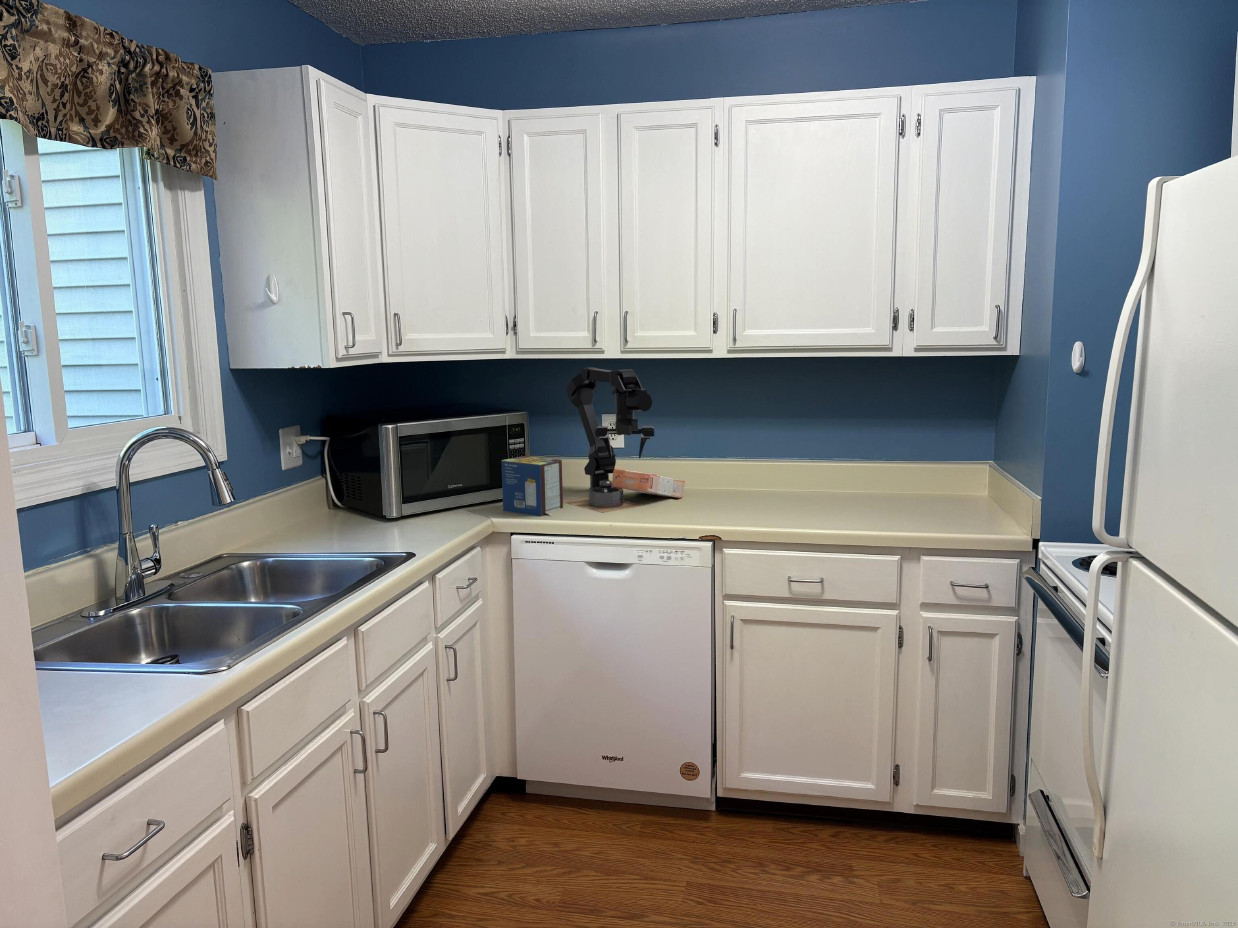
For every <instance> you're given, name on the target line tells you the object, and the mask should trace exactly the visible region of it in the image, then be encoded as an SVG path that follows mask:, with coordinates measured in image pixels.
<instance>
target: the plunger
mask: <svg viewBox="0 0 1238 928" xmlns="http://www.w3.org/2000/svg"><path fill="white" fill-rule="evenodd" d="M611 487H612V480H610V479H609V480H602V481H600V488H604V492H607V488H611Z"/></svg>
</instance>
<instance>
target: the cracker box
mask: <svg viewBox="0 0 1238 928" xmlns="http://www.w3.org/2000/svg"><path fill="white" fill-rule="evenodd" d="M611 481H612V487H617V488H622V489H623V490H629V491H633V492H639V493H645V494H650V495H656V496H663V497H671V498H680V499H682V498H683V495H684V487H685V482H686V481H685V480H681V479H677V478H676V479H675V478H671V477H667V476H661V475H657V474H653V473H649V472H641V471H634V470H627V469H626V470H625V469H618V468H617V469H614V472H613V473H612V480H611Z"/></svg>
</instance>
